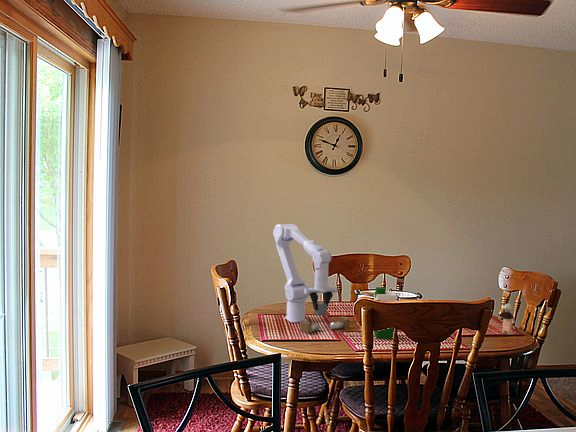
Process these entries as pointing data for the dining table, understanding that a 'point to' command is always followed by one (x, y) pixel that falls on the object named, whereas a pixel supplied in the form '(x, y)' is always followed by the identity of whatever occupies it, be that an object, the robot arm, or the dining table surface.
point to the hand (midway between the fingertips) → (320, 309)
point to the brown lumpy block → (308, 327)
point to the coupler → (321, 309)
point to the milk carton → (384, 296)
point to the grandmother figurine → (507, 319)
